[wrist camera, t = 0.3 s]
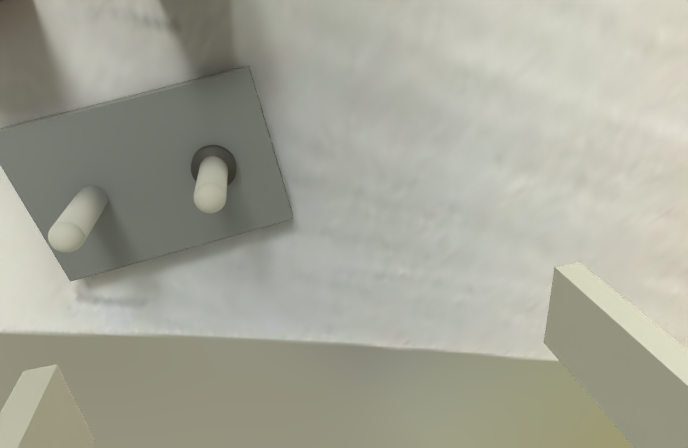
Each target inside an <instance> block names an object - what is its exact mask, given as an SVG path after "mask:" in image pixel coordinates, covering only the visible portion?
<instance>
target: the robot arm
mask: <svg viewBox="0 0 688 448" xmlns="http://www.w3.org/2000/svg"><path fill="white" fill-rule="evenodd" d="M544 343H545V344H546V346H547V347H548V348H549V349H550V350H551V351H552V353H553V354H554V355H555V356H556V357H557V358H558V360H559V361H560V362H561V363H562V364H563V365H564V366H565V368H566V369H567V370H568V371H569V372H570V374H571V375H572V376H573V377H574V378H575V380H576V381H577V382H578V383H579V384H580V385H581V386H582V388H583V389H584V390H585V391H586V392H587V394H588V395H589V396H590V397H591V398H592V399H593V401H594V402H595V403H596V404H597V405H598V406H599V408H600V409H601V410H602V411H603V412H604V413H605V415H606V416H607V417H608V418H609V419H610V421H611V422H612V423H613V424H614V425H615V426H616V428H617V429H618V430H619V431H620V432H621V433H622V435H623V436H624V437H625V438H626V439H627V440H628V442H629V443H630V444H631V445H632V446H633V447H634V448H688V350H687V349H686V348H685V347H683V346H682V345H681V344H680V343H678V342H677V341H676V340H675V339H674V338H672V337H671V336H670V335H669V334H667V333H666V332H665V331H664V330H662V329H661V328H660V327H659V326H658V325H656V324H655V323H654V322H653V321H651V320H650V319H649V318H648V317H646V316H645V315H644V314H643V313H642V312H640V311H639V310H638V309H637V308H635V307H634V306H633V305H632V304H631V303H629V302H628V301H627V300H626V299H624V298H623V297H622V296H621V295H619V294H618V293H617V292H616V291H615V290H613V289H612V288H611V287H610V286H608V285H607V284H606V283H605V282H603V281H602V280H601V279H600V278H599V277H597V276H596V275H595V274H594V273H592V272H591V271H590V270H589V269H587V268H586V267H585V266H584V265H583V264H581V263H580V262H578V263H573V264H567V265H562V266H557V267H555V268H554V275H553V282H552V289H551V296H550V303H549V310H548V317H547V324H546V331H545V338H544ZM94 442H95V440H94V437H93V435H92V434H91V431H90V429H89V428H88V425H87V423H86V421H85V419H84V417H83V415H82V413H81V412H80V409H79V407H78V405H77V403H76V401H75V399H74V397H73V395H72V393H71V391H70V389H69V387H68V385H67V383H66V381H65V379H64V377H63V375H62V373H61V371H60V369H59V367H58V365H57V364H56V365H51V366H47V367H41V368H36V369H31V370H26V371H23V373H22V375H21V376H20V378H19V380H18V382H17V384H16V385H15V387H14V389H13V391H12V393H11V395H10V396H9V398H8V400H7V402H6V403H5V405H4V407H3V409H2V411H1V412H0V448H93V445H94Z"/></svg>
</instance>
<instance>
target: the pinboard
mask: <svg viewBox="0 0 688 448" xmlns="http://www.w3.org/2000/svg"><path fill="white" fill-rule="evenodd" d="M0 165H1V167H2V168H3V170H4V172H5V173H6V175H7V177H8V178H9V180H10V182H11V183H12V185H13V187H14V188H15V190H16V192H17V193H18V195H19V197H20V198H21V200H22V202H23V203H24V205H25V207H26V208H27V210H28V212H29V213H30V215H31V217H32V218H33V220H34V222H35V223H36V225H37V227H38V228H39V230H40V232H41V233H42V235H43V237H44V238H45V240H46V242H47V243H48V245H49V247H50V248H51V250H52V252H53V253H54V255H55V257H56V258H57V260H58V262H59V263H60V265H61V267H62V268H63V270H64V272H65V273H66V275H67V277H68V278H69V280H70V281H74V280H77V279H81V278H84V277H88V276H92V275H95V274H99V273H102V272H106V271H109V270H113V269H116V268H120V267H124V266H127V265H131V264H134V263H138V262H141V261H145V260H149V259H152V258H156V257H159V256H163V255H166V254H170V253H174V252H177V251H181V250H184V249H188V248H191V247H195V246H199V245H202V244H206V243H209V242H213V241H216V240H220V239H223V238H227V237H231V236H234V235H238V234H241V233H245V232H248V231H252V230H256V229H259V228H263V227H266V226H270V225H273V224H277V223H281V222H284V221H288V220H291V219H293V215H292V211H291V207H290V204H289V201H288V197H287V194H286V190H285V187H284V184H283V180H282V177H281V174H280V170H279V167H278V163H277V160H276V157H275V153H274V150H273V147H272V143H271V140H270V136H269V133H268V130H267V126H266V123H265V119H264V116H263V113H262V109H261V106H260V103H259V99H258V96H257V92H256V89H255V86H254V82H253V79H252V75H251V72H250V69H249V66H246V67H242V68H238V69H235V70H231V71H227V72H223V73H219V74H215V75H211V76H207V77H203V78H199V79H195V80H191V81H187V82H183V83H179V84H175V85H171V86H167V87H163V88H159V89H155V90H151V91H147V92H143V93H139V94H135V95H132V96H128V97H124V98H120V99H116V100H112V101H108V102H104V103H100V104H96V105H92V106H88V107H84V108H80V109H76V110H72V111H68V112H64V113H60V114H56V115H52V116H48V117H44V118H40V119H36V120H33V121H29V122H25V123H21V124H17V125H13V126H9V127H5V128H1V129H0Z"/></svg>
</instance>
